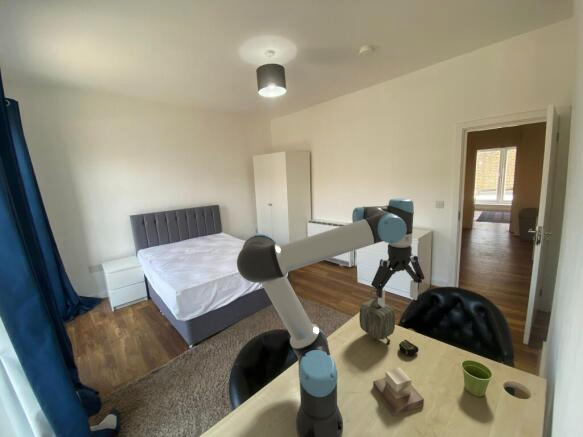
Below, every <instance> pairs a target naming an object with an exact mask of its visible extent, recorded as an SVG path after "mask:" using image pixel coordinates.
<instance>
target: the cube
mask: <svg viewBox="0 0 583 437" xmlns="http://www.w3.org/2000/svg"><path fill="white" fill-rule="evenodd" d="M385 377H386V379H385V386H386V387H387V388H388V390H389V391H390V392H391V393H392V395H393V396H394V397H395V398H396V399H399V398H402V397H405V396H408V395H410V394H411V385H412V379H411V378H410V377H409V376H408V375H407V373H406V372H405V371H404V370H403V369H402V368H401V367H396V368H393V369H389V370H386V371H385Z"/></svg>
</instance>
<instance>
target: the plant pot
mask: <svg viewBox="0 0 583 437" xmlns="http://www.w3.org/2000/svg"><path fill="white" fill-rule="evenodd" d="M460 367H461V369H462V373H463V382H464V383H463V384H464V388H465V390H466V391H468V393H470V394H471V395H473V396H475V397H483V396H485V395H486V392H487V388H488V386H489V383H490V382H491V380H492V379H493V378H494V373H493V371H492V370H491V368H490V367H488V366H487V365H485V364H484V363H482V362H480V361H477V360H474V359H464V360H462V361H461V363H460Z"/></svg>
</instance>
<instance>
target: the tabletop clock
mask: <svg viewBox="0 0 583 437" xmlns="http://www.w3.org/2000/svg"><path fill="white" fill-rule="evenodd" d="M373 292H374V293H376V289H375V290H374V289H373V290H371V291H370V295H371V297H372V298H373V299H370V300H368V301H366V302H363V303H362V304H361V305H360V307H359V308H360V309H359V316H358V317H359V318H358V319H359V327H360V329H361V330H362V331H364V332H365V333H366V334H368V335H369V336H371V338H370V339H371V342H374V341H375V339H376V340H381V341H382V340H385V339H386V342H387V343H388V344H389V343H391V340H390V338H388V337H389V336H391V335H392V334H394V332H395V329H396V328H395V327H396V315H395V310H394V309H393V308H392V307H391V306H390V305H388V304H386V303H385V307H381V306H380V305H379V304H378V297H377V296H374V295H373Z"/></svg>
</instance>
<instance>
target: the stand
mask: <svg viewBox="0 0 583 437" xmlns="http://www.w3.org/2000/svg"><path fill="white" fill-rule="evenodd" d="M385 379H386V376H384V377H383V378H379V379H376V380H373V382H372V383H373V384H372V386H373V387H372V388H374V390H375V392H376V393H377V394H378V396H379V397H380V398H381V399H382V401H383V403H384V404H385V405H386V406H387V408H388V409H389V411H390V412H391V413H392V414H393V415H394V417H395V416H397V415H400V414H403V413H405V412H409V411H410V410H413V409H416V408H420V407H421V406H424V405H425V399H424V397H423V396H422V395H421V394H420V393H419V392H418V391H417V390H416V388H414V386H413V385H412V384H411V394H410V395H408V396H405V397H402V398H399V399H396V398H395V397H394V396H393V395H392V393H391V392H390V391H389V390H388V388H387V387H386V386H385Z"/></svg>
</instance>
